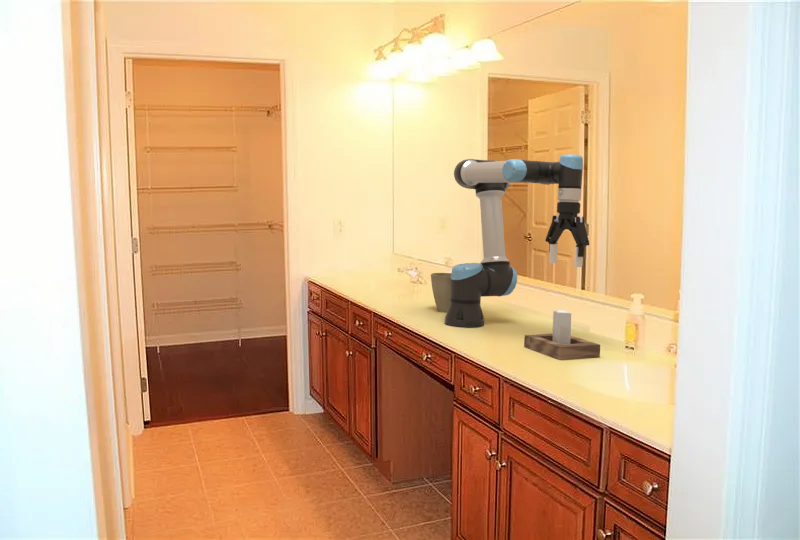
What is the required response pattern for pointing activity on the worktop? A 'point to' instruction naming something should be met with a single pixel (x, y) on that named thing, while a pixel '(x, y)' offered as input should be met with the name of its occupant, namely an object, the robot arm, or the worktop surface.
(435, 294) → the plant pot
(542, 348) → the tray
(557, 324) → the skincare box
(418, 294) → the worktop surface
